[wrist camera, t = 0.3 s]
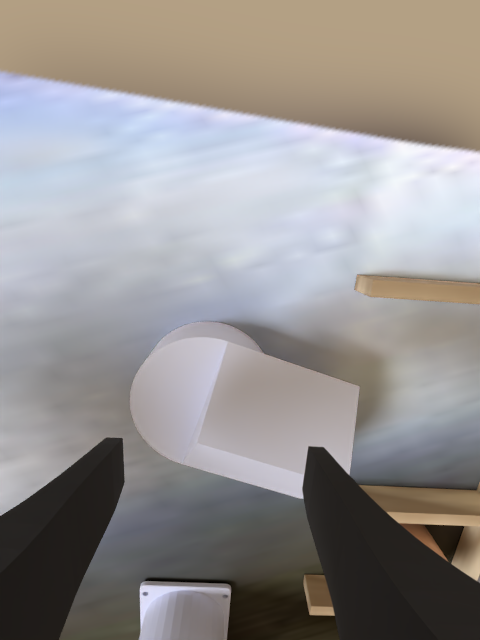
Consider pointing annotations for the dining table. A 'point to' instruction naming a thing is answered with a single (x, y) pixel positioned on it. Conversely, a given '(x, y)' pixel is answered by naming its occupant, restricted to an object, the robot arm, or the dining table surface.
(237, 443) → the wedge on round base
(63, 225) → the dining table surface
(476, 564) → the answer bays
